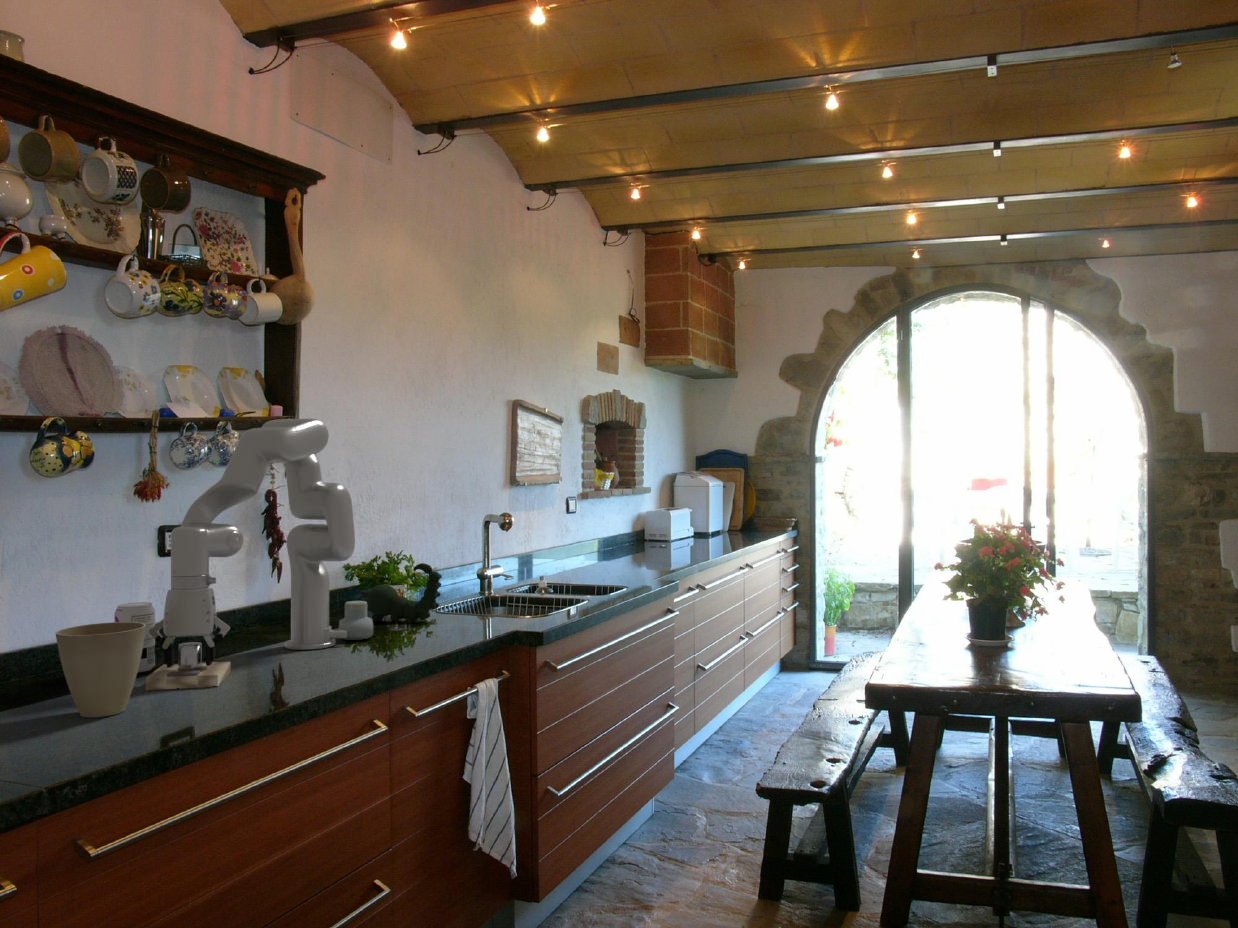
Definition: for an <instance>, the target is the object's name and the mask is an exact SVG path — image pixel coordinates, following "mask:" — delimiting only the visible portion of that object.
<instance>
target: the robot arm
mask: <svg viewBox="0 0 1238 928" xmlns="http://www.w3.org/2000/svg"><path fill="white" fill-rule="evenodd" d="M329 435H330V434H329V430H328V427H327V426H326V424H325V423H324V422H323V421H321V420H320V419H318V418H280V419H273V420H269V421H266V422H265V423H263V425H262V426H261V427H254V428H250V429H247V430H246V431H244V432H243V434H242V435H241V436H240V438H239V440H238V441H237V444H236V445H235V446H236V447H235V448H234V450H233V452H232V455H231V456H230V459H229V461H228V463H227V466H226V468H225V470H224V472H223V475H222V476H221V478H220V479H219V480H218V481H217V482H216V483H215V484H213V485H212V486H210V487H209V488H208V489H207V490H206V491H205V492H203V493H202V494H200V496H199V497H198V498H197V499H196V500H194V501H193V503H192V504H191V505H190V507H189V508H188V510H187V511H186V514H185V516H184V517H183V520H182V522H181V524H180V526H177V527H174V528H173V529H172V531H171V533H170V589H168V590H167V593H166V597H165V604H164V610H163V618H162V619H161V620H160V621H159V622H158V623H155V626H154V627H153V628H151V629H150V630H149V633H150V634H151V635H152V637H153V638H154V639H155V642H156V643H157V644H159V645H160V646H161V647H162V649H163V651H164V657H163V659H164V664H167V668H170V667H171V666H173V665H174V664H175V647H174V646H173V643H174V641H175V639H176V638H185V637H203V639H204V640H205V642H206V644H207V647H206V648H205V663H206V665H207V666H210V665H211V664H212V662H216V661H215V660H216V645H217V644H218V643H219V642H220V641H221V640H222V639H223V638H224V637H225V636H226V635H227V633H228V632H229V631H230V629H231V626H230V625H229V624H227V623H225V621H223V620H221V619H220V618H219V617H217V607H216V596H215V591H214V588H212V587H210V586H211V585H213V584H214V585H215V584H217V578H216V577H212V576H211V574H210V558H229V557H232V556H234V555H236V554H237V553H238V552H239V551H241V549H242V548H243V544H244V536H243V533H242V532H241V530H240V529H239V528H238V527H237V526H235V525H233V524H228V523H213V522H214V520H215V519H216V518H217V517H218V516H219V515H220V514H222V513H224V511H227V510H228V509H230V508H233V507H234V506H237V505H239V504H242V503H244V502H246V501H247V500H250V499H252V498H254V497H256V495H257V494H258V492H259V490H260V487H261V485H262V483H263V480H264V478H265V476H266V473H267V472H268V469H269V467H270V465H271V464H279V463H280V464H283V466H284V470H285V475H286V477H285V478H286V485H287V486H286V487H287V495H288V497H287V498H288V505H289V510H290V513H291V515H292V516H293V517H294V518H296V519H299V520H311V521H312V520H314V521H321V520H323V521H326V524H323V523H304V524H298V525H296V526H294V527H293V528H292V529H291V530H289V532H288V534H287V537H286V550H287V555H288V559H289V567H290V639H289V640H287V641H285V642H284V648H285V649H289V650H297V651H305V650H308V651H309V650H318V649H319V650H321V649H325V648H327V649H328V648H329V647H333V646H335V645H336V639H342V638H347V630H345V631H343V630H339V629H338V630H335V629H332V625H330V576H329V571H328V569H327V567H326V566H325V564H324V562H345V561H347V560H349V559H350V558H351V557H352V556H353V553H354V551H355V547H356V534H355V525H354V524H355V522H354V521H355V520H354V511H353V503H352V501H353V500H352V497H351V494H350V492H349V490H348V488H347V487H345V486H344V485H343V484H341V483H336V482H324V481H323V478H322V471H321V466H320V461H319V459H318V457H317V455H316V454H318V453H320V452H321V451H323V450H324V449H325V447H326V446H327V444H328V442H329ZM217 627H218V628H219V629H220V631H219V632H218V633H217V635H215V636H214V634H213V632H215V631H216V630H217ZM161 629H162V630H163V631H162V632H163V635H164V636H166V637H164V636H163V635H162V634H161V633H160V630H161Z"/></svg>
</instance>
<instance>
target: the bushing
mask: <svg viewBox="0 0 1238 928" xmlns="http://www.w3.org/2000/svg"><path fill="white" fill-rule="evenodd" d="M202 644H203V643H202V642H199V641H196V642H195V641H191V642H182V643H179V644H178V646H177V647H178V649H177V650H178V653H177V654H178V655H177V656H178V658H177V659H178V662H177V664H178V671H195V670H200V672H202V663H203V660H202V659H203V658H202V657H203V655H202V654H203V652H202V651H203V647H202Z"/></svg>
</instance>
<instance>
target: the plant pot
mask: <svg viewBox="0 0 1238 928" xmlns="http://www.w3.org/2000/svg"><path fill="white" fill-rule="evenodd" d="M145 629H146V625H145V624H144V623H138V622H115V621H113V622H100V623H89V624H83V625H76V626H71V627H66V628H62V629H60V630H59V629H58V630H57V631H55V640H56V643H57V650H58V655H59V659H60V663H61V667H62V671H63V675H64V677H65V680H66V683H67V686H68V687H67V688H68V689H69V692H70V694H71V697H72V700H73V703H74V704H75V707H76V708H77V712H78V713H79V715H80V716H81V717H83V718H102V717H110V716H115V715H117V714H121V713H122V712H125V710H126V708H127V705H128V704H129V700H130V698H131V694H132V693H133V688H134V685H135V681H136V679H137V674H138V673H137V672H138V668H139V664H140V659H141V655H142V649H143V643H144V636H145Z"/></svg>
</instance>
